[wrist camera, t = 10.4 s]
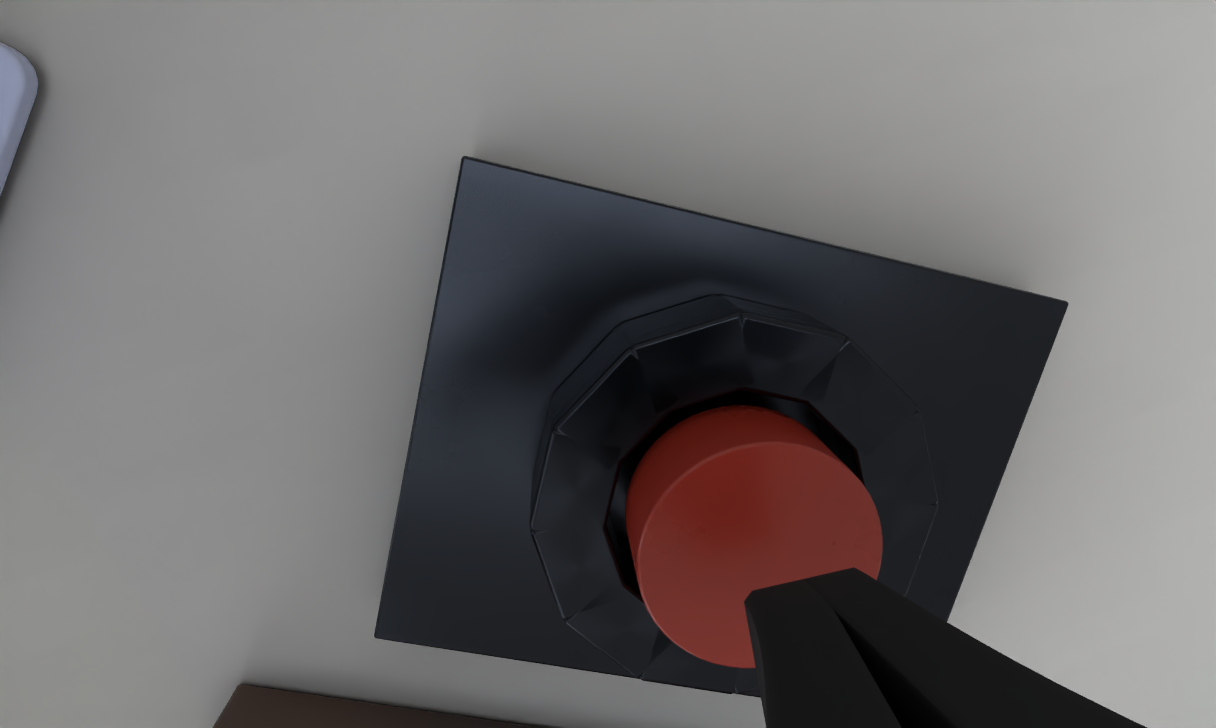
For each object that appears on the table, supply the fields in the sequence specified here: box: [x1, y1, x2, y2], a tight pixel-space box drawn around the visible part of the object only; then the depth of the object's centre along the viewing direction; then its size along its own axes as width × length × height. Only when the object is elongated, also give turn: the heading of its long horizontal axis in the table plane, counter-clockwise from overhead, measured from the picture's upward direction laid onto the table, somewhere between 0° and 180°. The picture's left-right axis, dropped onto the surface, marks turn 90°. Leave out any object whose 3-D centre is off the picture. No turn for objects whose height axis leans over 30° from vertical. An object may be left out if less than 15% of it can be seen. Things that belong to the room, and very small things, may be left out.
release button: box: [625, 405, 882, 668], centre depth 12 cm, size 4×4×2 cm
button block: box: [374, 156, 1068, 697], centre depth 13 cm, size 11×9×3 cm
